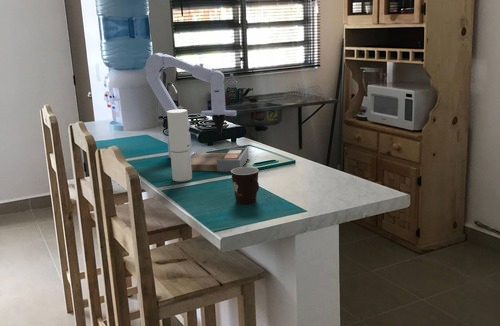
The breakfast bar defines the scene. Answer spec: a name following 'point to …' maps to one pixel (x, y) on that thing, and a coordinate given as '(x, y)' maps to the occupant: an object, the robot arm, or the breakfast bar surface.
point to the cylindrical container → (179, 144)
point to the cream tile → (235, 152)
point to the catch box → (232, 161)
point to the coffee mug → (245, 184)
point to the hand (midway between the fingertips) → (220, 132)
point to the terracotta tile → (231, 157)
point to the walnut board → (206, 161)
